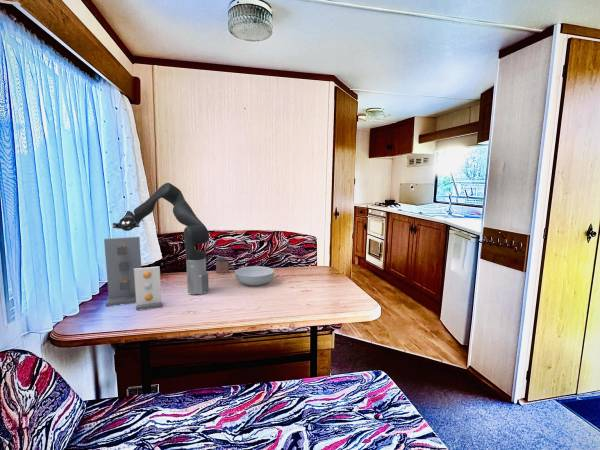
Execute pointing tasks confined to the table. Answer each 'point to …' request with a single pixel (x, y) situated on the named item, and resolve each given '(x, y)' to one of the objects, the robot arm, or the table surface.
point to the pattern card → (147, 287)
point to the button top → (121, 250)
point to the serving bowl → (254, 275)
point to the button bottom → (124, 285)
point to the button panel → (116, 275)
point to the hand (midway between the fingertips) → (124, 227)
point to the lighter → (222, 265)
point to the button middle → (123, 266)
